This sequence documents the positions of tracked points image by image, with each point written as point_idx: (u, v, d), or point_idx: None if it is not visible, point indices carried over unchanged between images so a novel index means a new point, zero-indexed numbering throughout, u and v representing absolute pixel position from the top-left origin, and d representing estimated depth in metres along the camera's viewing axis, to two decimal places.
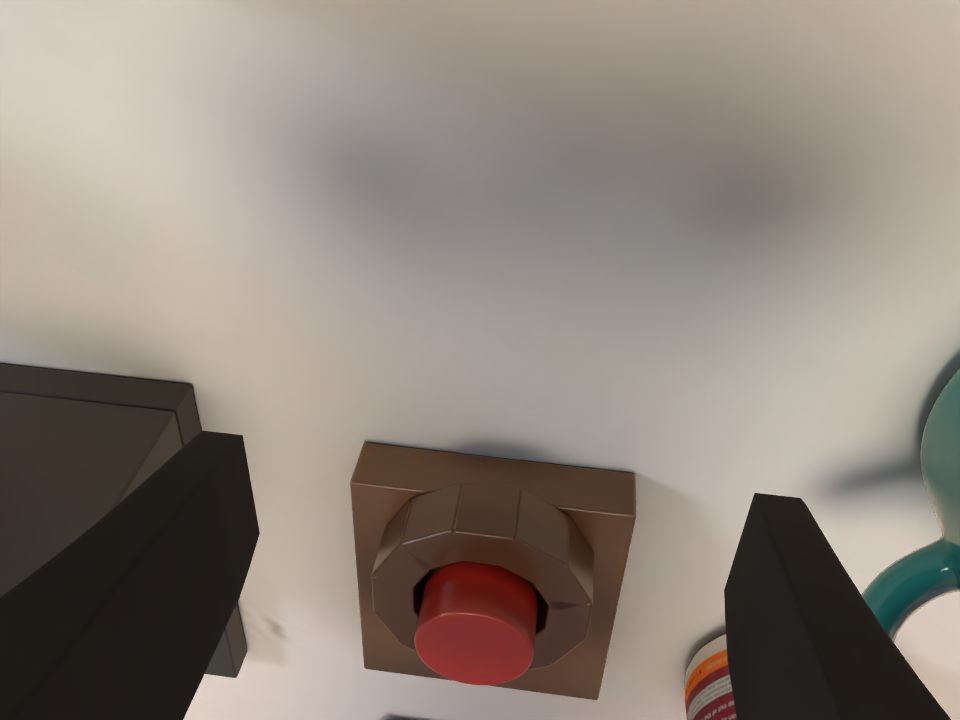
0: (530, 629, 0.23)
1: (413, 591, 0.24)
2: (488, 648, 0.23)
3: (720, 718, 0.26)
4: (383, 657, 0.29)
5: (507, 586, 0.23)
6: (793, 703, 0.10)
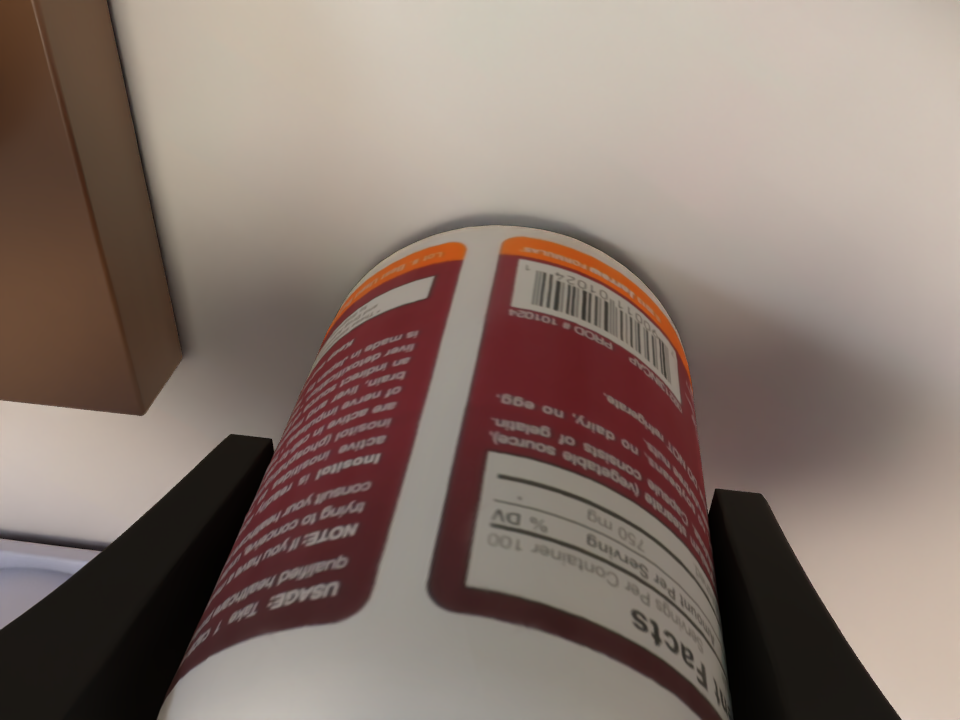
0: None
1: None
2: None
3: (307, 388, 0.12)
4: None
5: None
6: (745, 696, 0.10)
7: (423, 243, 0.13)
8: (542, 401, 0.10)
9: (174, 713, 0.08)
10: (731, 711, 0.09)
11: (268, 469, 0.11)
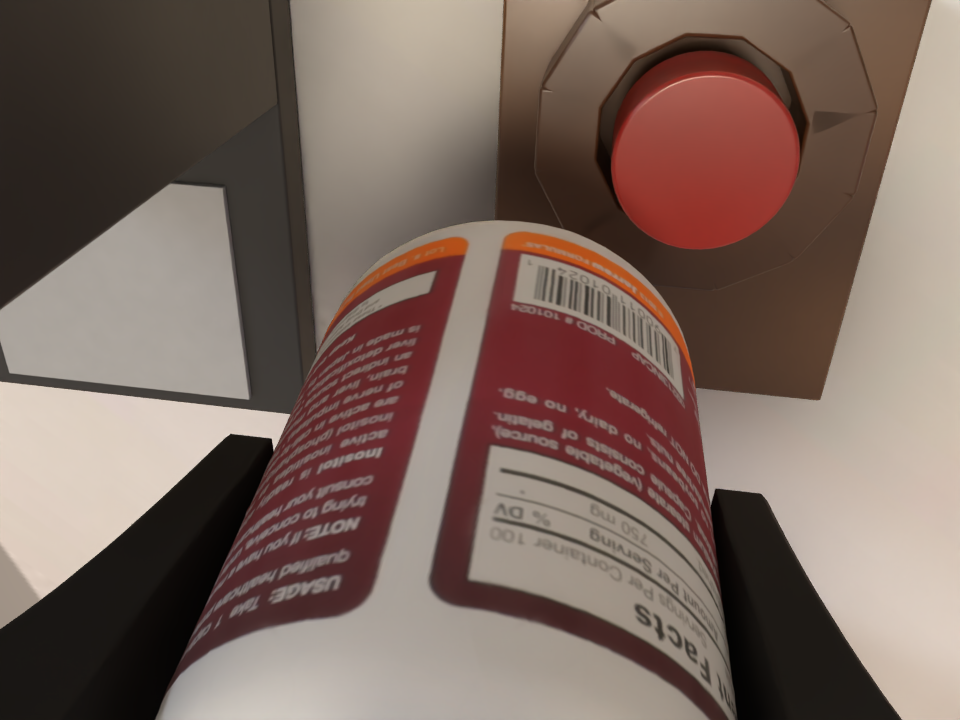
0: None
1: (600, 118, 0.16)
2: (729, 156, 0.15)
3: (309, 383, 0.12)
4: None
5: (755, 70, 0.15)
6: (746, 697, 0.10)
7: (425, 238, 0.13)
8: (545, 396, 0.10)
9: (175, 707, 0.08)
10: (735, 706, 0.09)
11: (269, 464, 0.11)
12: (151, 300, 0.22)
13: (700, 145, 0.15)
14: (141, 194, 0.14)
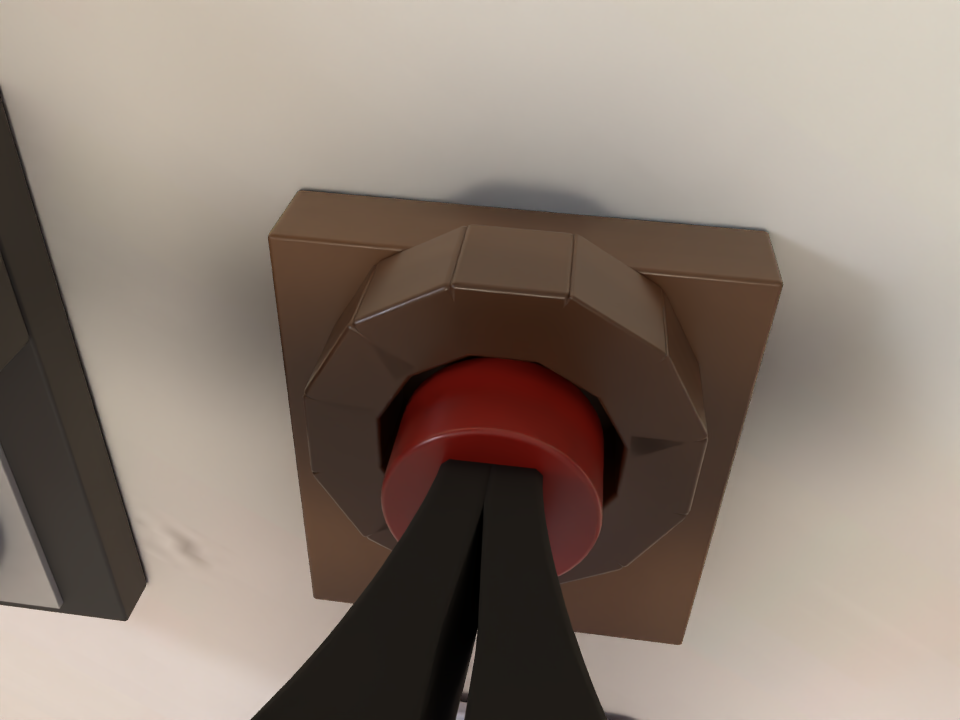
0: (596, 473, 0.12)
1: (379, 427, 0.13)
2: None
3: None
4: (342, 578, 0.18)
5: (553, 396, 0.12)
6: None
7: None
8: None
9: None
10: None
11: None
12: None
13: None
14: None
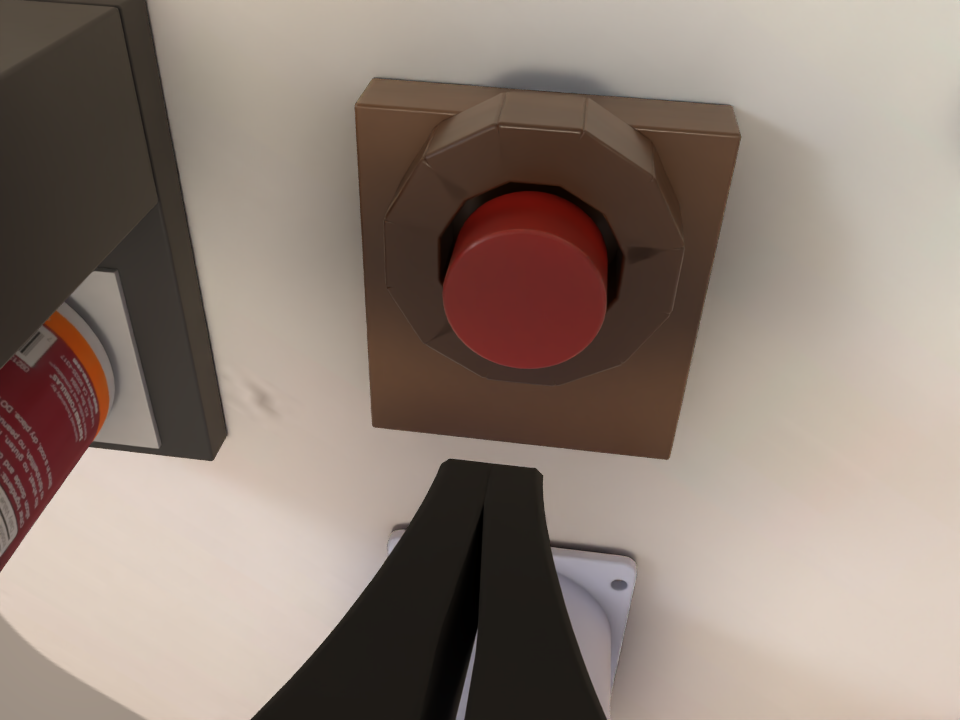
0: (602, 270, 0.17)
1: (439, 245, 0.18)
2: (545, 297, 0.17)
3: None
4: (396, 406, 0.23)
5: (570, 215, 0.17)
6: None
7: None
8: None
9: None
10: None
11: None
12: None
13: (518, 288, 0.17)
14: (8, 351, 0.16)
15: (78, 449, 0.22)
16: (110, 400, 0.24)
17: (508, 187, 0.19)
